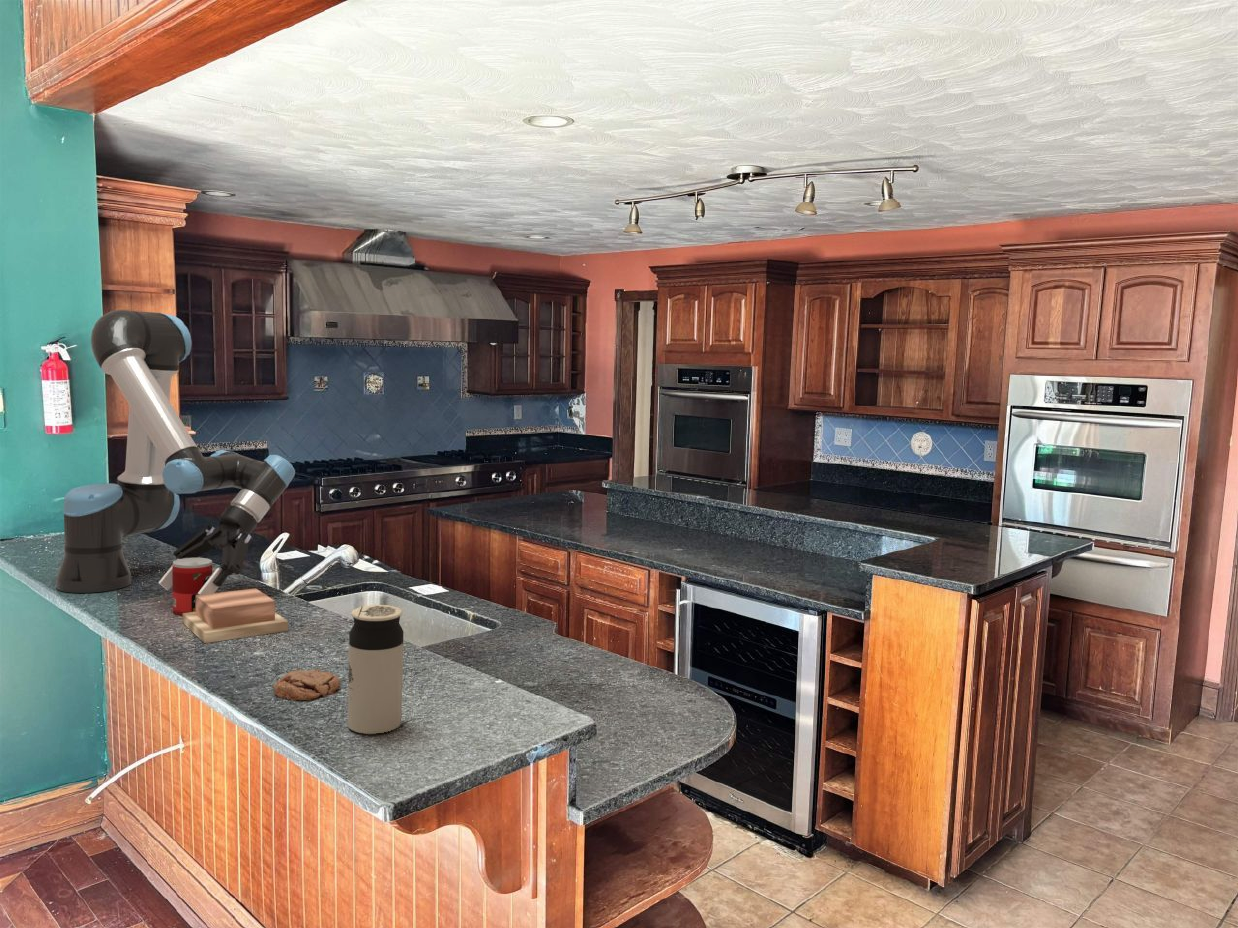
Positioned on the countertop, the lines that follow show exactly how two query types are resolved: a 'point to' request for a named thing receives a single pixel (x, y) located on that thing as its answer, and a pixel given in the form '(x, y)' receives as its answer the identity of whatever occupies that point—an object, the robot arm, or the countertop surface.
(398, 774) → the countertop surface
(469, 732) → the countertop surface
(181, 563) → the canned food
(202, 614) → the stand
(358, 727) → the travel mug
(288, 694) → the cookie
